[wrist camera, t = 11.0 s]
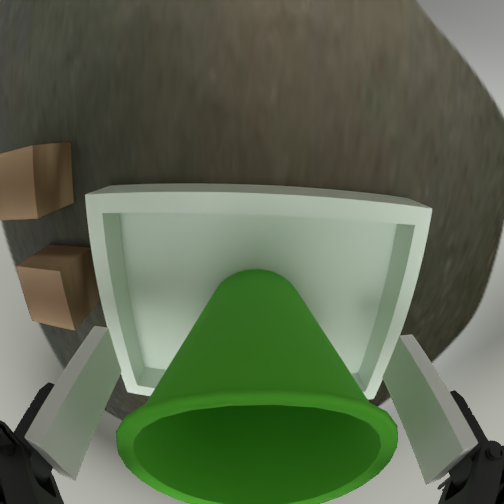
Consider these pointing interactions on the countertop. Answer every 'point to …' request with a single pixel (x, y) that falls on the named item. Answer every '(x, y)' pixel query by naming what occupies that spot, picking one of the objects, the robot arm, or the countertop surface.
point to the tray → (253, 264)
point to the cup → (256, 407)
